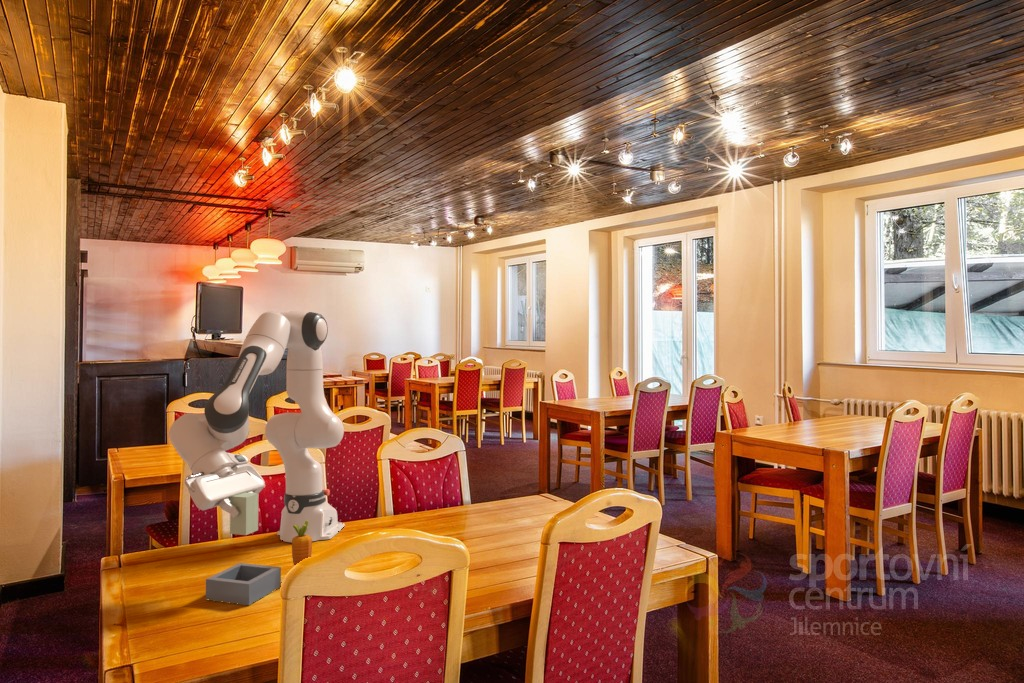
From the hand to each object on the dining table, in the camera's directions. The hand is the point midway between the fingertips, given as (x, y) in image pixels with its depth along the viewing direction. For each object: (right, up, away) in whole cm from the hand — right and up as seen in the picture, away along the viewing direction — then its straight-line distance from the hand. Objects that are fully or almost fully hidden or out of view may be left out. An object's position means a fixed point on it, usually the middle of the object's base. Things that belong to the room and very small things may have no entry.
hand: (246, 512), depth 156 cm
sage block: (-1, -5, 0) cm, 5 cm away
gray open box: (-1, -20, 0) cm, 20 cm away
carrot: (+10, -20, +10) cm, 24 cm away
